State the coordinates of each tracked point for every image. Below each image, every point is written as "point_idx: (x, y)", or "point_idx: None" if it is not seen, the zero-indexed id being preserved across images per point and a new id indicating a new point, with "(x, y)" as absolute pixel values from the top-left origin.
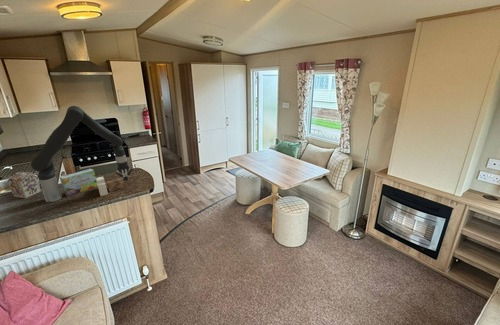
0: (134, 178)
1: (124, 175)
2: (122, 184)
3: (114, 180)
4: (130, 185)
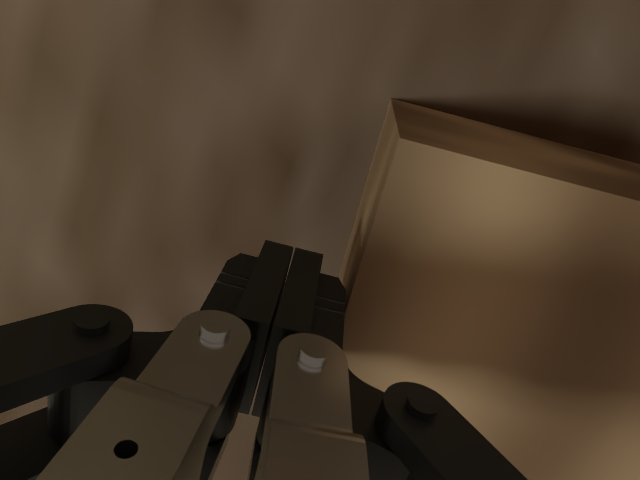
0: None
1: (287, 382)
2: (478, 142)
3: (557, 468)
4: (260, 126)
